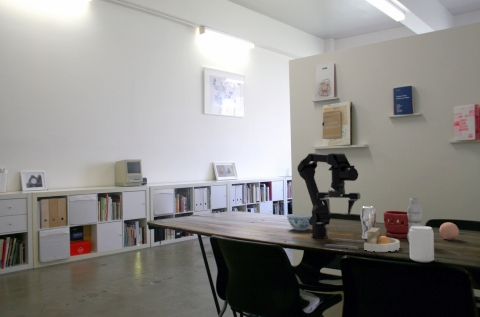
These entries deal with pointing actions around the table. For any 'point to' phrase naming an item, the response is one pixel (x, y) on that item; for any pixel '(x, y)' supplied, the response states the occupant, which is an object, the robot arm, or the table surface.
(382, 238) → the rubber ball
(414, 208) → the plastic bottle
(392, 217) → the plant pot
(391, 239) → the ring
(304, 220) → the chinaware
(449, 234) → the toy ball
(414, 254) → the beverage can
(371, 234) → the launcher plunger
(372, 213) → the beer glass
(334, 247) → the launcher rails
